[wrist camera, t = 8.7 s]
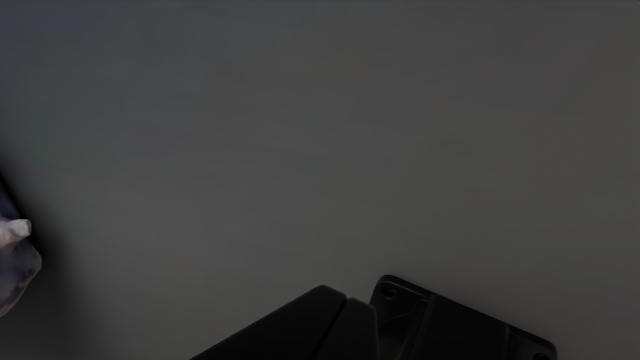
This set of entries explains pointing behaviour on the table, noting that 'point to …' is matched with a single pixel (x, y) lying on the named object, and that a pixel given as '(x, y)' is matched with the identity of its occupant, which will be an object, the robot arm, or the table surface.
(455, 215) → the table surface
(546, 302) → the table surface
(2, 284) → the cell model
